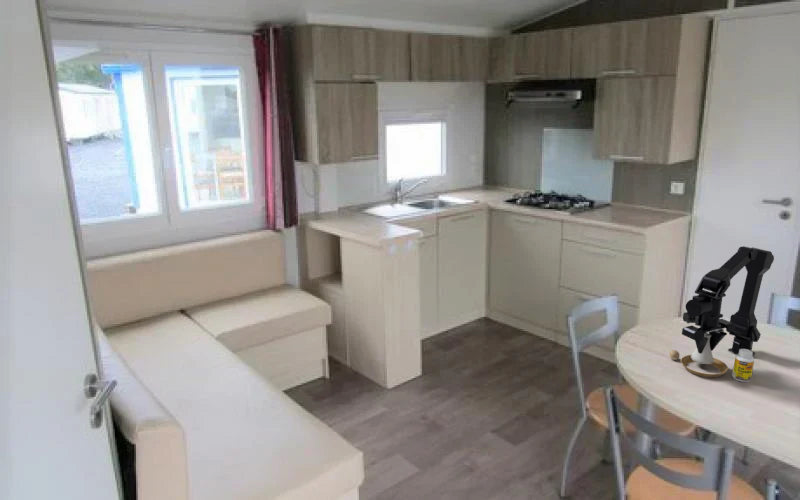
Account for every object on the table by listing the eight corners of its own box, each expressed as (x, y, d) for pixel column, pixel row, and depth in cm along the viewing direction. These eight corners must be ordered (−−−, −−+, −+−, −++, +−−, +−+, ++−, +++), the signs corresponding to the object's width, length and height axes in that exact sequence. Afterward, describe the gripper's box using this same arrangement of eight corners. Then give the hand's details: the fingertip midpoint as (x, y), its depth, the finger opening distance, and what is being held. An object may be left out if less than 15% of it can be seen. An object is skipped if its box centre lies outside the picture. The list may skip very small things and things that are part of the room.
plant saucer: (710, 385, 195) (711, 378, 194) (670, 367, 207) (671, 361, 207) (736, 373, 202) (737, 366, 202) (696, 357, 214) (697, 351, 214)
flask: (718, 364, 203) (722, 338, 201) (698, 365, 203) (702, 339, 200) (705, 355, 210) (709, 329, 208) (686, 356, 210) (690, 330, 207)
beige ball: (673, 356, 214) (674, 347, 213) (681, 360, 211) (682, 351, 210) (666, 358, 213) (667, 349, 212) (673, 362, 210) (675, 353, 209)
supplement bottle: (734, 381, 196) (738, 353, 193) (730, 373, 201) (734, 346, 198) (752, 383, 194) (757, 355, 192) (748, 376, 200) (753, 348, 197)
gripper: (710, 298, 210) (705, 338, 214) (671, 306, 203) (666, 347, 208) (738, 308, 200) (732, 350, 204) (698, 317, 193) (692, 360, 198)
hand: (705, 351), depth 204 cm, fingers open, 5 cm apart
